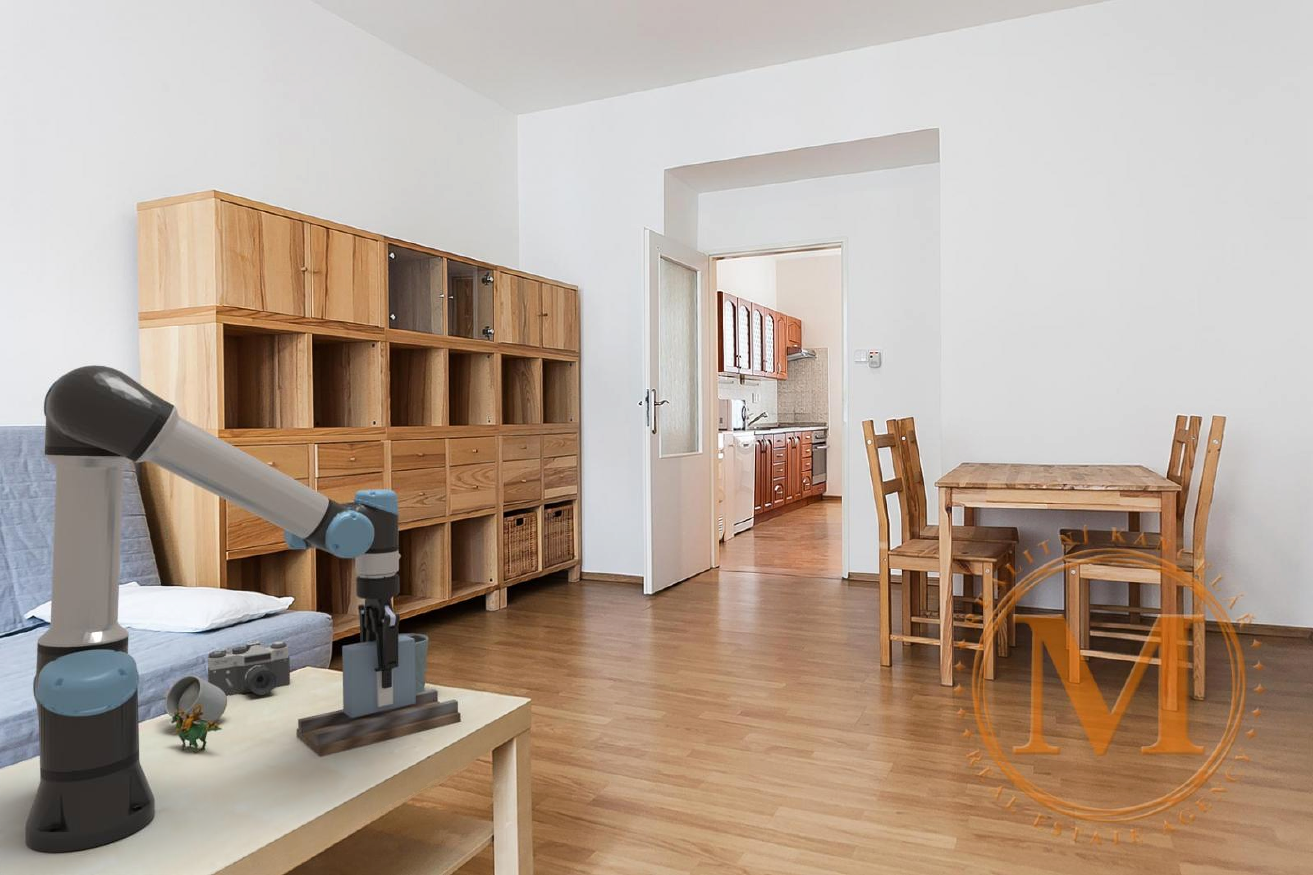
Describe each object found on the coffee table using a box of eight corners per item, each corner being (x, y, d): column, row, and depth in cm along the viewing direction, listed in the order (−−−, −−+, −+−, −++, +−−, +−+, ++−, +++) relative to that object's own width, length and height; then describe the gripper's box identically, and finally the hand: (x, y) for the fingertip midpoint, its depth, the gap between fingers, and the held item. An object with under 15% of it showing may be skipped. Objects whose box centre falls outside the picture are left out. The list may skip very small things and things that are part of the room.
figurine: (180, 743, 154) (179, 697, 153) (229, 753, 149) (229, 706, 149) (164, 750, 151) (163, 703, 151) (214, 760, 146) (213, 711, 146)
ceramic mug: (210, 735, 162) (238, 699, 164) (177, 724, 156) (207, 687, 158) (182, 705, 168) (209, 671, 170) (148, 694, 161) (178, 658, 163)
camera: (215, 708, 173) (214, 658, 172) (206, 696, 181) (205, 648, 180) (298, 693, 182) (298, 645, 182) (286, 682, 190) (285, 636, 190)
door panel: (351, 718, 154) (350, 650, 154) (343, 712, 157) (342, 646, 157) (415, 703, 162) (414, 639, 162) (406, 698, 165) (405, 635, 165)
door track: (319, 756, 147) (319, 736, 147) (296, 737, 156) (296, 717, 156) (460, 721, 164) (460, 702, 164) (432, 705, 173) (431, 688, 173)
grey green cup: (368, 704, 174) (367, 644, 174) (390, 688, 184) (390, 632, 184) (416, 706, 173) (415, 645, 172) (436, 690, 183) (435, 633, 182)
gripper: (417, 578, 155) (419, 708, 156) (379, 566, 168) (381, 686, 169) (376, 583, 150) (378, 718, 151) (340, 570, 163) (342, 695, 164)
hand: (379, 701), depth 160 cm, fingers closed on door panel, 4 cm apart
